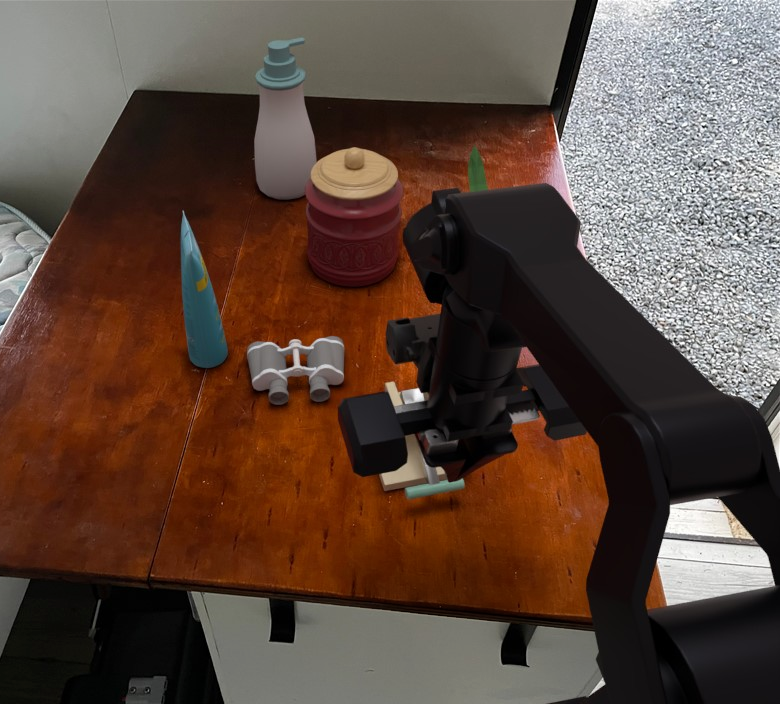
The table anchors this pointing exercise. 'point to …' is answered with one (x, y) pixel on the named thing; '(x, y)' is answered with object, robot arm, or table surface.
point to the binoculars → (296, 367)
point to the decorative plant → (476, 172)
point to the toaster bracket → (413, 468)
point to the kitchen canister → (353, 217)
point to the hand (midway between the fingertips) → (451, 477)
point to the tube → (200, 306)
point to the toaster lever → (430, 473)
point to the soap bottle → (283, 125)
